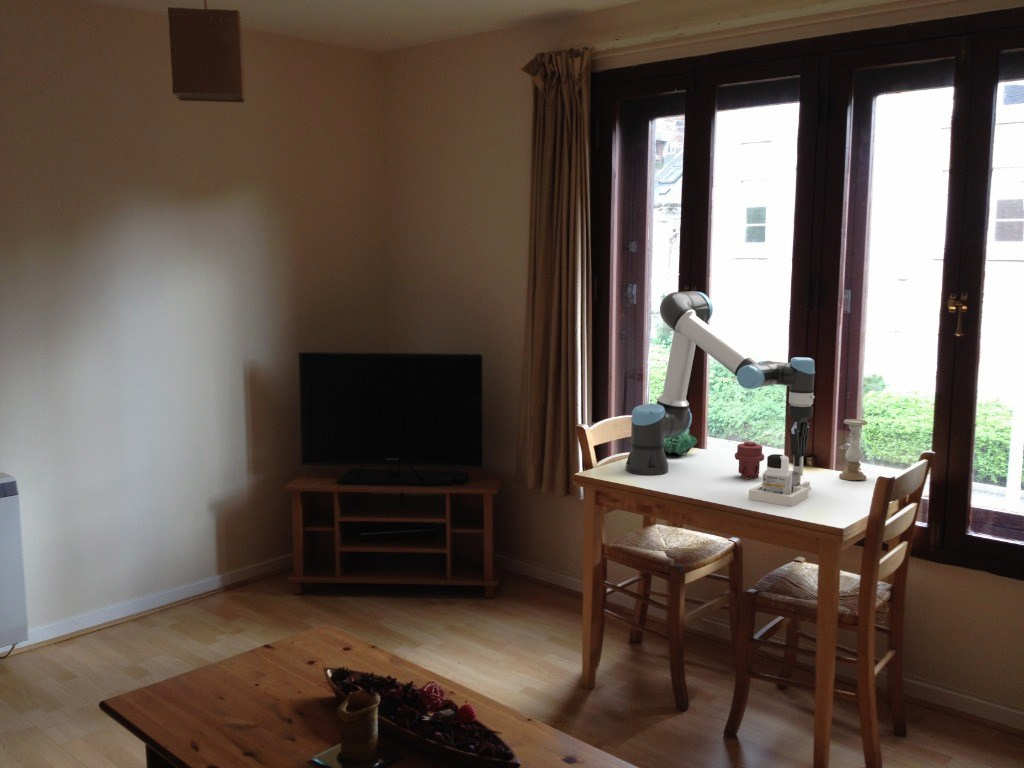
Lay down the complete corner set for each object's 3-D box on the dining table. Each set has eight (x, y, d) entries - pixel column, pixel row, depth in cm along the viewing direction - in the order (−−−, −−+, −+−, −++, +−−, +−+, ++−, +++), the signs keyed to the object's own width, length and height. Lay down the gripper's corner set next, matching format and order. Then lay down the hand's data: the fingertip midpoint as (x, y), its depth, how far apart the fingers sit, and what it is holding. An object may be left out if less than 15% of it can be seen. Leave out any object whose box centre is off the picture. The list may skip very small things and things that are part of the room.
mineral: (654, 449, 357) (655, 424, 356) (694, 449, 356) (695, 425, 354) (657, 458, 339) (658, 433, 338) (699, 459, 337) (700, 434, 336)
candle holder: (871, 480, 304) (874, 422, 302) (847, 481, 303) (850, 423, 300) (857, 475, 313) (860, 418, 310) (834, 475, 311) (837, 418, 309)
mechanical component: (731, 473, 315) (760, 474, 314) (736, 480, 305) (765, 481, 304) (733, 439, 313) (762, 440, 312) (737, 445, 303) (767, 445, 302)
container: (761, 496, 279) (763, 456, 277) (766, 491, 286) (768, 451, 284) (786, 499, 275) (788, 458, 274) (791, 494, 282) (793, 454, 280)
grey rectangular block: (776, 491, 285) (777, 475, 284) (788, 485, 293) (788, 470, 292) (788, 493, 282) (789, 477, 282) (800, 487, 290) (801, 472, 289)
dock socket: (748, 499, 280) (748, 489, 280) (778, 484, 299) (779, 475, 299) (791, 506, 271) (792, 496, 271) (820, 490, 291) (820, 481, 291)
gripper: (804, 408, 283) (801, 480, 286) (819, 403, 293) (816, 473, 296) (782, 406, 287) (779, 477, 290) (797, 401, 297) (794, 470, 300)
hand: (797, 475), depth 293 cm, fingers closed
